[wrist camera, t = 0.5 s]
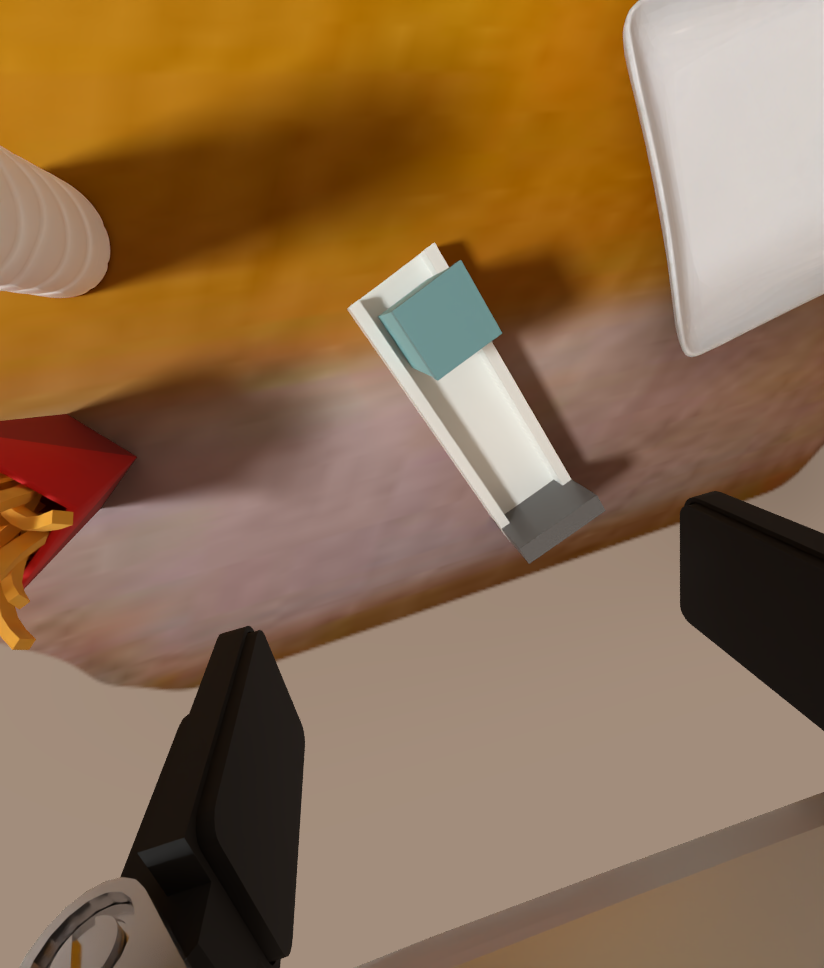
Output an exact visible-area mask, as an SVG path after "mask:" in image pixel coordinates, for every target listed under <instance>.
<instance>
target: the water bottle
mask: <svg viewBox="0 0 824 968" xmlns="http://www.w3.org/2000/svg"><path fill="white" fill-rule="evenodd" d="M109 260H110V242H109V237H108V234H107V231H106V229H105V227H104V225H103V221H102V219H101V217H100V215H99V214H98V212H97V211H96V209H95V208H94V207H93V205H92V204H91V203H90V202H89V201H88V200H87V199H86V198H85V197H84V196H83V195H82V194H81V193H80V192H79V191H77V190H76V189H75V188H74V187H72V186H71V185H69V184H68V183H66V182H65V181H63V180H61V179H59V178H58V177H56V176H54V175H52V174H51V173H49V172H47V171H45V170H43V169H41V168H39V167H37V166H35V165H34V164H32V163H30V162H29V161H27V160H25V159H23V158H21V157H19V156H17V155H15V154H13V153H12V152H10V151H8V150H7V149H5V148H4V147H2V146H0V291H9V292H15V293H23V294H32V295H38V296H45V297H53V298H69V297H75V296H79V295H82V294H84V293H86V292H88V291H89V290H90V289H92V288H94V287H95V286H97V285H98V284H99V282H100V281H101V280H102V279H103V277H104V275H105V274H106V271H107V268H108V262H109Z"/></svg>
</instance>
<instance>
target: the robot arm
mask: <svg viewBox="0 0 824 968" xmlns="http://www.w3.org/2000/svg"><path fill="white" fill-rule="evenodd" d="M680 607H681V611H682V614H683V615H684V617H685V619H687V621H688V622H689V623H690V624H691V625H693V626H694V627H695V628H697V629H698V630H699V631H700V632H702V633H703V634H704V635H705V636H706V637H708V638H709V639H710V640H711V641H713V642H714V643H715V644H716V645H717V646H719V647H720V648H721V649H723V650H724V651H725V652H726V653H728V654H729V655H730V656H731V657H732V658H734V659H735V660H736V661H737V662H739V663H740V664H741V665H742V666H744V667H745V668H746V669H747V670H749V671H750V672H751V673H752V674H754V675H755V676H756V677H757V678H759V679H760V680H761V681H762V682H764V683H765V684H766V685H767V686H769V687H770V688H771V689H772V690H774V691H775V692H776V693H778V694H779V695H780V696H781V697H782V698H784V699H785V700H786V701H787V702H789V703H790V704H791V705H792V706H794V707H795V708H796V709H797V710H798V711H800V712H801V713H802V714H803V715H805V716H806V717H807V718H808V719H810V720H811V721H812V722H813V723H815V724H816V725H817V726H818V727H820V728H821V729H822V730H823V731H824V534H823V533H820V532H818V531H816V530H813V529H811V528H808V527H806V526H803V525H801V524H798V523H796V522H793V521H791V520H789V519H786V518H784V517H781V516H779V515H776V514H773V513H771V512H768V511H766V510H764V509H761V508H759V507H756V506H754V505H751V504H749V503H746V502H744V501H741V500H739V499H736V498H734V497H731V496H729V495H726V494H724V493H721V492H717V491H714V492H709V493H706V494H702V495H699V496H695V497H692V498H689V499H688V500H687V501H686V503H685V506H684V507H683V508H682V509H681V511H680ZM304 749H305V737H304V731H303V727H302V724H301V721H300V719H299V717H298V714H297V712H296V710H295V707H294V705H293V702H292V700H291V698H290V695H289V693H288V690H287V688H286V685H285V683H284V681H283V678H282V676H281V673H280V671H279V669H278V666H277V664H276V661H275V659H274V656H273V654H272V652H271V649H270V647H269V644H268V642H267V640H266V637H265V635H264V633H263V632H262V631H261V630H258V631H255V632H254V630H253V629H252V628H251V627H250V626H246V627H243V628H239V629H236V630H232V631H229V632H225V633H222V634H220V635H219V637H218V638H217V641H216V644H215V646H214V649H213V652H212V654H211V657H210V660H209V663H208V665H207V668H206V671H205V673H204V676H203V679H202V681H201V684H200V687H199V689H198V692H197V695H196V698H195V700H194V703H193V705H192V708H191V711H190V713H189V714H188V715H187V716H186V717H185V718H183V720H182V722H181V724H180V725H179V728H178V730H177V733H176V735H175V738H174V741H173V744H172V746H171V748H170V751H169V754H168V756H167V758H166V761H165V764H164V766H163V769H162V771H161V774H160V777H159V779H158V782H157V784H156V787H155V790H154V792H153V795H152V797H151V800H150V803H149V805H148V808H147V810H146V813H145V815H144V818H143V820H142V823H141V825H140V828H139V831H138V833H137V836H136V838H135V841H134V843H133V846H132V849H131V851H130V854H129V856H128V859H127V861H126V864H125V867H124V869H123V872H122V874H121V877H120V878H117V879H113V880H108V881H105V882H103V883H101V884H99V885H97V886H96V887H94V888H92V889H90V890H88V891H86V892H85V893H84V894H82V895H81V896H80V897H79V898H77V899H76V900H75V901H74V902H72V903H71V904H70V905H68V906H67V907H66V908H65V909H64V910H63V911H62V912H61V913H60V914H59V915H58V916H57V917H56V918H55V919H54V920H53V921H52V923H51V924H49V925H48V927H47V928H46V929H45V930H44V931H43V933H42V934H41V935H40V937H39V938H38V939H37V941H36V942H35V943H34V945H33V946H32V947H31V949H30V950H29V952H28V953H27V954H26V956H25V958H24V960H23V962H22V964H21V965H20V967H19V968H280V960H281V958H284V957H287V956H289V954H290V951H291V947H292V939H293V924H294V908H295V892H296V891H295V890H296V877H297V876H296V875H297V860H298V845H299V829H300V814H301V798H302V782H303V781H302V780H303V765H304V751H305V750H304ZM355 968H824V792H823V793H820V794H817V795H814V796H812V797H809V798H806V799H803V800H801V801H798V802H795V803H792V804H790V805H787V806H784V807H782V808H779V809H776V810H773V811H771V812H768V813H765V814H762V815H760V816H757V817H754V818H751V819H749V820H746V821H743V822H740V823H738V824H735V825H732V826H729V827H727V828H724V829H721V830H719V831H716V832H713V833H710V834H708V835H705V836H702V837H699V838H697V839H694V840H691V841H689V842H686V843H683V844H680V845H678V846H675V847H672V848H670V849H667V850H664V851H661V852H659V853H656V854H653V855H650V856H648V857H645V858H642V859H640V860H637V861H634V862H631V863H629V864H626V865H623V866H620V867H618V868H615V869H612V870H610V871H607V872H604V873H602V874H599V875H596V876H594V877H591V878H588V879H586V880H583V881H580V882H578V883H575V884H572V885H569V886H567V887H564V888H561V889H559V890H556V891H553V892H551V893H548V894H546V895H543V896H540V897H537V898H535V899H532V900H529V901H527V902H524V903H522V904H519V905H516V906H513V907H511V908H508V909H505V910H503V911H500V912H497V913H495V914H492V915H489V916H486V917H484V918H481V919H478V920H476V921H473V922H470V923H468V924H465V925H462V926H460V927H457V928H455V929H452V930H449V931H446V932H444V933H441V934H439V935H436V936H433V937H430V938H428V939H425V940H423V941H420V942H418V943H415V944H413V945H410V946H408V947H405V948H403V949H400V950H398V951H395V952H393V953H390V954H388V955H385V956H383V957H380V958H377V959H375V960H373V961H370V962H367V963H365V964H362V965H360V966H357V967H355Z"/></svg>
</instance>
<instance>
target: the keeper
mask: <svg viewBox="0 0 824 968" xmlns="http://www.w3.org/2000/svg"><path fill="white" fill-rule="evenodd" d="M378 318H379V319H380V321H381V322H382V324H383V325H384V327H385V328H386V330H387V331H388V333H389V334H390V336H391V337H392V339H393V340H394V342H395V343H396V345H397V346H398V348H399V349H400V351H401V352H402V354H403V355H404V357H405V358H406V360H407V361H408V363H409V364H410V366H411V367H412V368H414V369H416V370H418V371H420V372H423V373H425V374H427V375H429V376H432V377H433V378H434V379H435V380H437V381H438V380H440V379H441V378H442V377H444V376H445V375H446V374H448V373H449V372H451V371H452V370H453V369H455V368H456V367H457V366H459V365H460V364H461V363H463V362H464V361H465V360H467V359H468V358H470V357H471V356H472V355H474V354H475V353H476V352H478V351H479V350H480V349H482V348H483V347H485V346H486V345H487V344H489V343H490V342H491V341H493V340H494V339H495V338H497V337H498V336H499V335H501V334H502V332H501V330H500V328H499V326H498V325H497V323H496V321H495V319H494V318H493V316H492V314H491V312H490V311H489V309H488V307H487V305H486V303H485V302H484V300H483V298H482V296H481V295H480V293H479V291H478V289H477V287H476V286H475V284H474V282H473V280H472V279H471V277H470V275H469V273H468V271H467V270H466V268H465V266H464V264H463V263H462V261H461V260H459V261H458V262H456V263H455V264H453V265H452V266H451V267H449V268H447V269H445V270H444V271H442V272H440V273H438V274H436V275H434V276H432V277H431V278H429V279H427V280H426V281H424V282H423V283H422V284H420V285H419V286H418V287H416V288H415V289H414V290H412V291H411V292H410V293H408V294H407V295H406V296H404V297H403V298H402V299H400V300H399V301H398V302H396V303H395V304H394V305H392V306H391V307H390V308H388V309H387V310H386V311H384V312H383V313H382V314H380V315H379V316H378Z"/></svg>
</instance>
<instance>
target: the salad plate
mask: <svg viewBox="0 0 824 968" xmlns="http://www.w3.org/2000/svg"><path fill="white" fill-rule="evenodd" d="M623 43H624V53H625V59H626V63H627V68H628V72H629V77H630V81H631V85H632V89H633V93H634V97H635V101H636V105H637V110H638V114H639V118H640V122H641V127H642V131H643V135H644V140H645V144H646V149H647V154H648V159H649V163H650V168H651V173H652V178H653V183H654V189H655V194H656V199H657V205H658V210H659V215H660V221H661V227H662V232H663V238H664V245H665V251H666V257H667V263H668V271H669V278H670V286H671V294H672V303H673V311H674V320H675V326H676V331H677V335H678V339H679V343H680V346H681V348H682V350H683V352H684V354H685V355H686V356H689V357H695V356H699V355H701V354H703V353H705V352H708V351H710V350H712V349H714V348H716V347H718V346H720V345H722V344H724V343H726V342H728V341H730V340H732V339H734V338H736V337H738V336H740V335H742V334H744V333H746V332H748V331H750V330H752V329H754V328H756V327H758V326H760V325H762V324H764V323H766V322H768V321H770V320H772V319H774V318H776V317H778V316H780V315H782V314H784V313H786V312H788V311H790V310H792V309H794V308H796V307H798V306H800V305H802V304H804V303H806V302H808V301H811V300H813V299H815V298H817V297H819V296H821V295H823V294H824V0H639V1H638V2H637V3H636V4H635V5H634V6H633V7H632V8H631V9H630V10H629V13H628V15H627V17H626V20H625V24H624V30H623Z"/></svg>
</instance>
